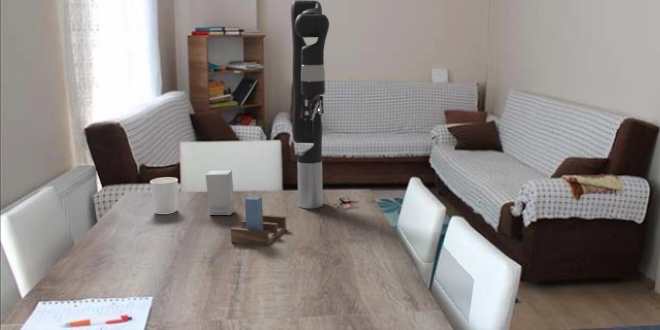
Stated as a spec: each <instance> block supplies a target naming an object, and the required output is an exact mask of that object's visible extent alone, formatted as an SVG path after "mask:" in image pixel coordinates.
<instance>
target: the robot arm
mask: <svg viewBox="0 0 660 330" xmlns="http://www.w3.org/2000/svg"><path fill="white" fill-rule="evenodd" d="M290 7H291V8H290V21H291V22H290V23H291V34H292V35H291V36H292V37H291V38H292V89H293V109H292V110H293V111H292V139H293V142H294V143H295V144H312V146H311V147H310V148H308V149H305V150H304V151H303V150H302V151H300V152H298V153H297V156H296V157H297V158H296V160H297V161H296V162H297V163H296V165H297V202H298V203H297V205H298V206H297V207H298V208H303V209H319V208H321V207H323V204H324V203H323V199H324V197H323V151H322V148H323V147H322V146H323V123H322V117H323V114H324V96H323V95H324V94H325V93H326V86H325V85H326V82H325V81H326V78H325V76H326V75H325V74H326V73H325V72H326V71H325V67H324V66H325V65H324V64H325V63H324V61H325V60H324V56H325V55H324V54H325V53H324V51H325V46H326V45H325V44H326V39H327V35H328V32H329V28H330V21H329V18H328V17H327V15H326V14H323V9H322V4H321V3H320V2H319V1H317V0H293V1H292V2H291V6H290ZM304 38H305V39H306V38H317V40H316V42H315V43H312V44H307V43H306V41H305V39H304Z"/></svg>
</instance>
